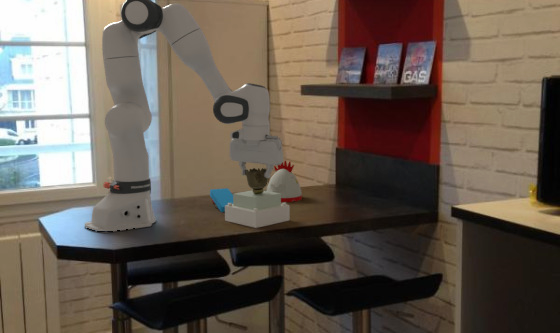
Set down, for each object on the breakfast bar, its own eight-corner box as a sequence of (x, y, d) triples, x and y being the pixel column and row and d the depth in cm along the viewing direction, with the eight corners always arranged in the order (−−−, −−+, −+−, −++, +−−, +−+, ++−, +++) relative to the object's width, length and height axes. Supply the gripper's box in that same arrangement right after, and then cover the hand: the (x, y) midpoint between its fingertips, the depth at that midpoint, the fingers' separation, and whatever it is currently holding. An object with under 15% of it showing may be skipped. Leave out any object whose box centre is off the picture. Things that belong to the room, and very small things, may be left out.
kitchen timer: (292, 203, 239) (292, 163, 237) (259, 200, 245) (259, 161, 242) (307, 197, 251) (307, 159, 249) (275, 194, 257) (275, 157, 255)
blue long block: (239, 222, 228) (223, 200, 243) (240, 205, 226) (224, 184, 241) (220, 224, 226) (206, 202, 241) (222, 206, 223) (207, 185, 238)
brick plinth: (255, 227, 200) (255, 199, 198) (225, 220, 210) (224, 193, 209) (289, 220, 210) (289, 193, 209) (258, 213, 221) (258, 188, 219)
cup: (257, 191, 214) (256, 167, 213) (274, 192, 209) (272, 168, 208) (242, 194, 208) (240, 169, 207) (259, 195, 203) (257, 170, 202)
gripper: (287, 135, 202) (287, 178, 204) (239, 131, 215) (239, 172, 217) (275, 136, 197) (274, 181, 199) (226, 133, 210) (226, 174, 212)
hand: (255, 176), depth 208 cm, fingers open, 8 cm apart
